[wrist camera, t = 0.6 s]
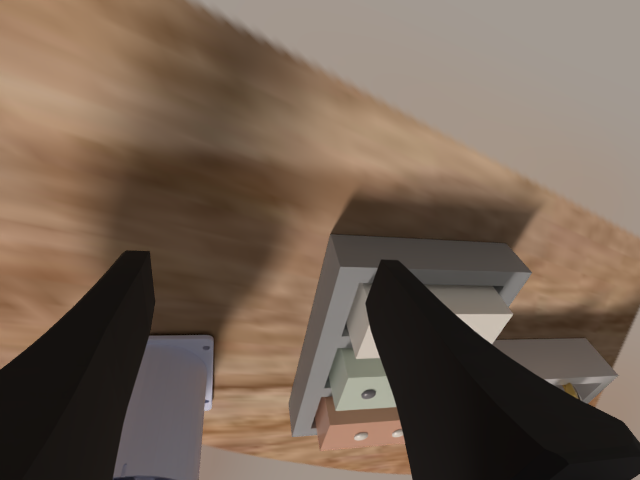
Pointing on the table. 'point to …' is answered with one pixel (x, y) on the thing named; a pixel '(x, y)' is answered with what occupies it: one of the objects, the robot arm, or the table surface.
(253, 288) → the table surface
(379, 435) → the tile two terracotta
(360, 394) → the tile three sage
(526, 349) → the bracelet dish
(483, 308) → the tile one cream
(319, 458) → the table surface
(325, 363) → the button board
